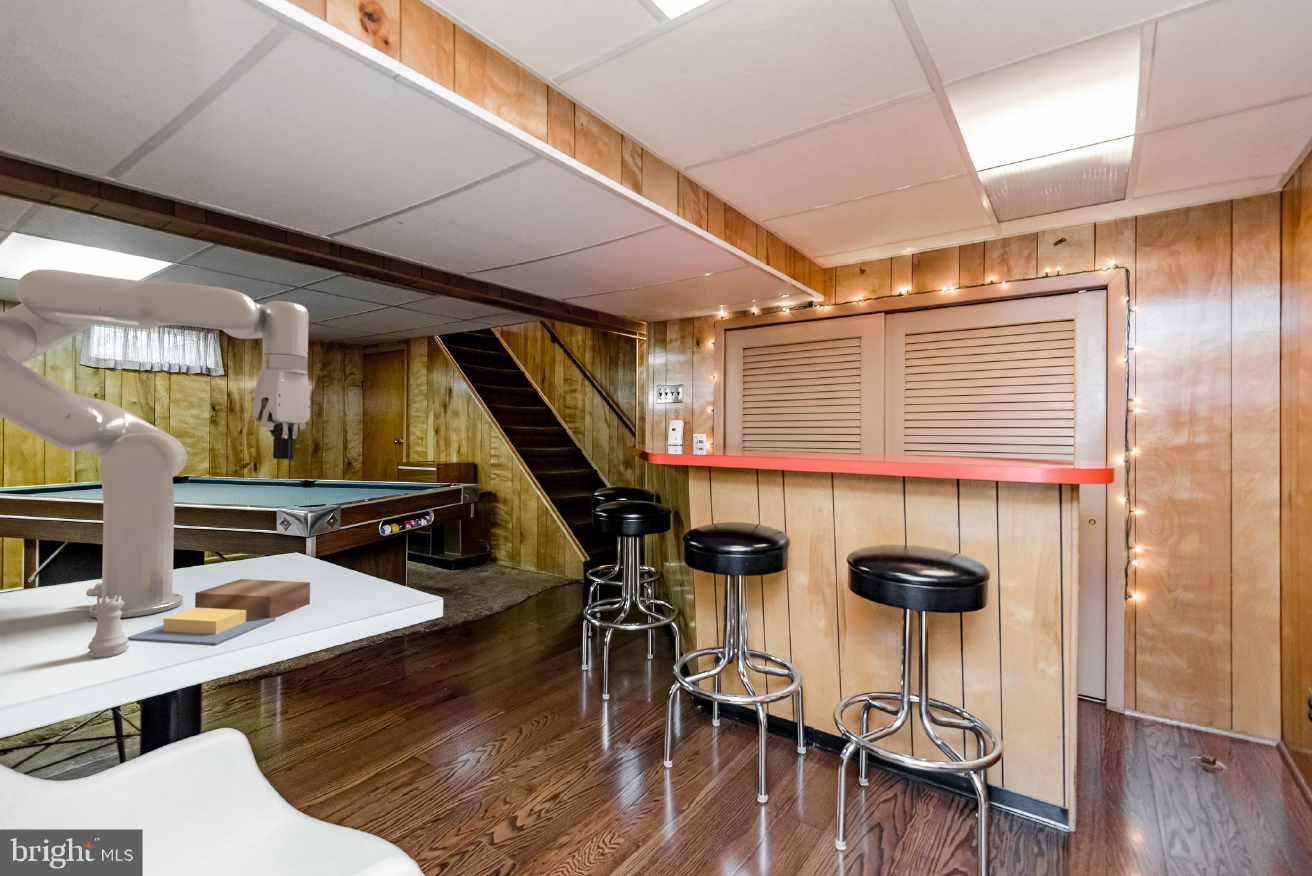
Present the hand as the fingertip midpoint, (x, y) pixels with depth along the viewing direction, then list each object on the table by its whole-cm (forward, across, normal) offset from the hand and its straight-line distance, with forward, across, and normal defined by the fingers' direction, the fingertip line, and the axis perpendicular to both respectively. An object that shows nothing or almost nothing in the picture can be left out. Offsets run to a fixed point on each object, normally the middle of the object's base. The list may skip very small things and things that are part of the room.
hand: (283, 458), depth 114 cm
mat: (+27, +20, +2) cm, 34 cm away
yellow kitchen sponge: (+25, +19, +2) cm, 32 cm away
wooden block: (+27, +9, +2) cm, 29 cm away
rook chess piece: (+27, +31, -2) cm, 41 cm away
